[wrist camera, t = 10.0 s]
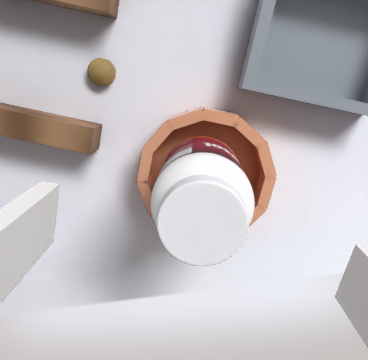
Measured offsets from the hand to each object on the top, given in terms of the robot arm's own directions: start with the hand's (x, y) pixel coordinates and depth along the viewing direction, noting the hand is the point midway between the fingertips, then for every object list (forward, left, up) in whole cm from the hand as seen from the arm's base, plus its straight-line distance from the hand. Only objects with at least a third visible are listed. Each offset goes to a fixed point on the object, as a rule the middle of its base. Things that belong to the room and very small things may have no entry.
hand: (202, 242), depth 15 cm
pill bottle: (0, 0, -13) cm, 13 cm away
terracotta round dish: (0, 0, -14) cm, 14 cm away
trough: (+6, +11, -14) cm, 19 cm away
